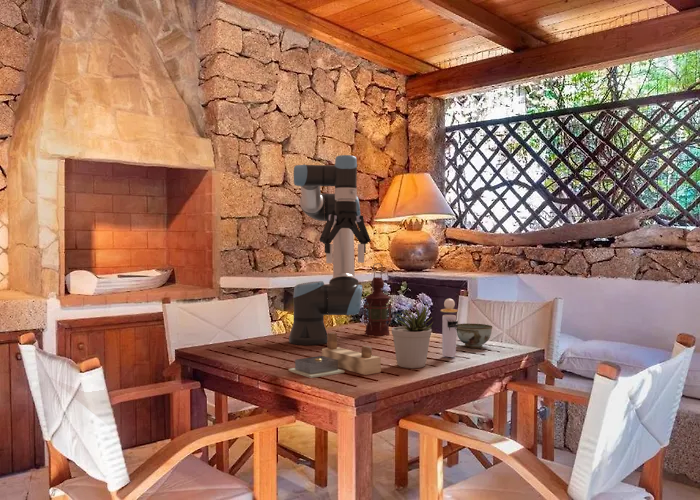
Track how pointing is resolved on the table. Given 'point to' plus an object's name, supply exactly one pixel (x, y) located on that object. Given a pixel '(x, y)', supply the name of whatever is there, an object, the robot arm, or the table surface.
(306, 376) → the felt pad
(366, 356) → the body
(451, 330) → the perfume bottle
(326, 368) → the grey block with knob
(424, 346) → the potted plant
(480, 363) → the table surface
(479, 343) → the bowl
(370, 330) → the lantern
